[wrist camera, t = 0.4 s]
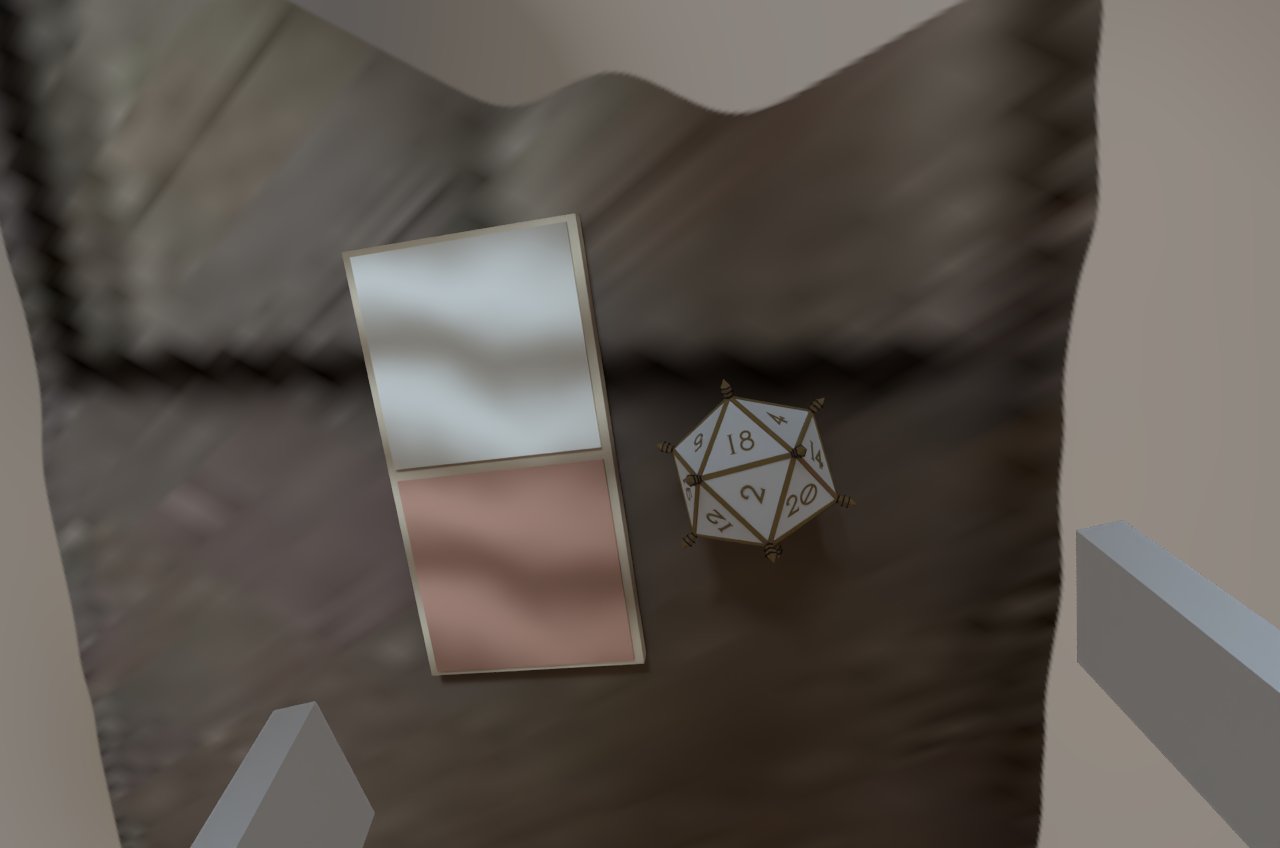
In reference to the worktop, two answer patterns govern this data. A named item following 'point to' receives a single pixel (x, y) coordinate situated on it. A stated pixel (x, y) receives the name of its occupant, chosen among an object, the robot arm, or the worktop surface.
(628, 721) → the worktop surface
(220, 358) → the worktop surface
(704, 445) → the game die
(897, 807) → the worktop surface
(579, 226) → the game board
